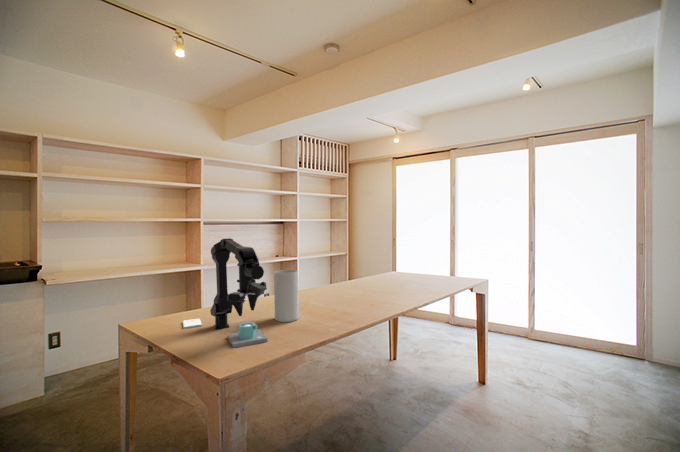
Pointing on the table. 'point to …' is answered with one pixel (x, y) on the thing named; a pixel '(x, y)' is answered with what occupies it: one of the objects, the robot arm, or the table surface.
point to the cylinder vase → (286, 295)
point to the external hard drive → (191, 323)
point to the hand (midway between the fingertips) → (246, 313)
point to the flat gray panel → (244, 342)
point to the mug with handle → (246, 330)
